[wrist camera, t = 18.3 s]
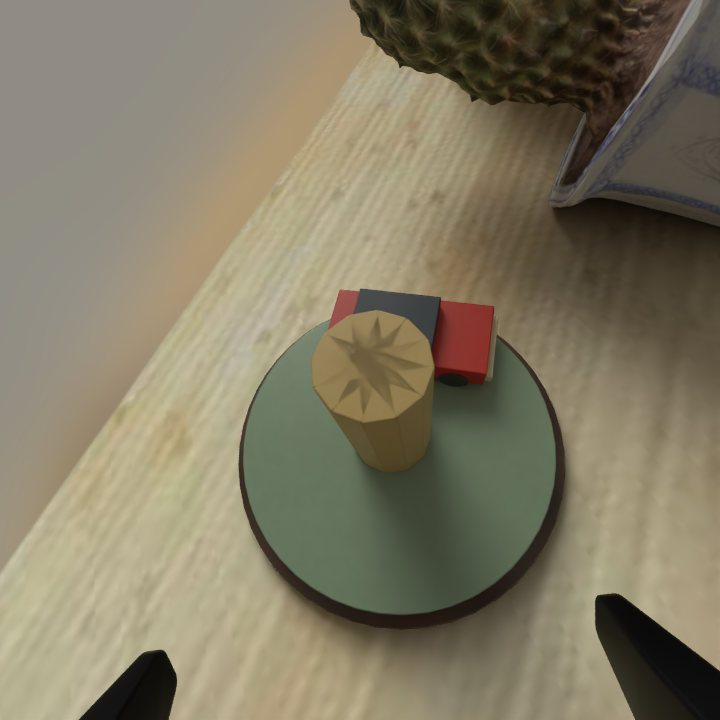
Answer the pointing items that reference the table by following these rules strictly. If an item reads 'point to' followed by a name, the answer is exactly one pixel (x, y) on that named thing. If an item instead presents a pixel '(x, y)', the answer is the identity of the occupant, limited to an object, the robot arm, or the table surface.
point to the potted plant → (586, 84)
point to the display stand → (440, 615)
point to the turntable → (400, 454)
